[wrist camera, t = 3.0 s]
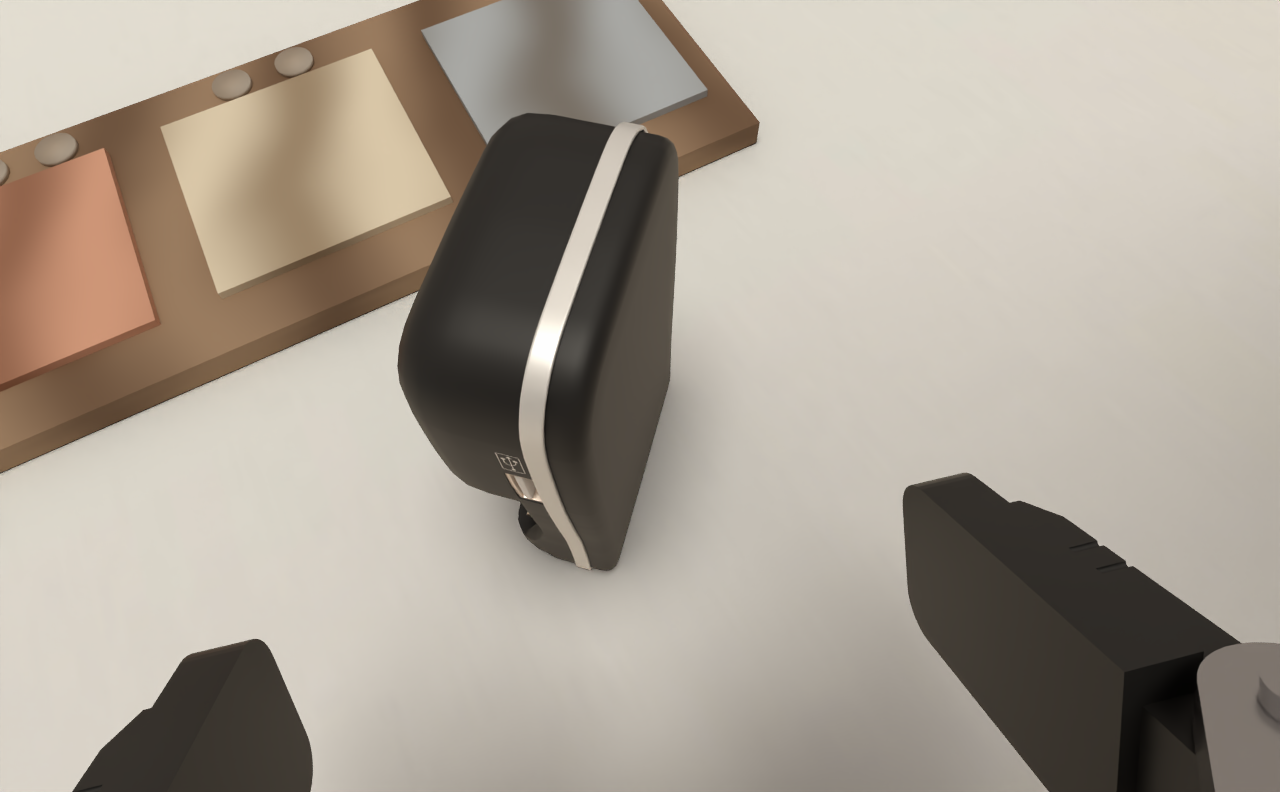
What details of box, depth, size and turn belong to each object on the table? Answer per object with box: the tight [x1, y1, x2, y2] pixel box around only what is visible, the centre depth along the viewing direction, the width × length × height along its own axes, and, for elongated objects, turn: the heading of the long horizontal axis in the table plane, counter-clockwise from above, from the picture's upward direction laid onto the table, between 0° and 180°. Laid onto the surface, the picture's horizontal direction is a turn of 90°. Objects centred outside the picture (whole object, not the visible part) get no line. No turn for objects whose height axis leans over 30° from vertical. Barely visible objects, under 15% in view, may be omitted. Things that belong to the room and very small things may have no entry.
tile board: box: [0, 0, 760, 473], centre depth 27 cm, size 30×12×1 cm, turn 118°
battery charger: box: [398, 113, 679, 570], centre depth 18 cm, size 7×4×11 cm, turn 165°
